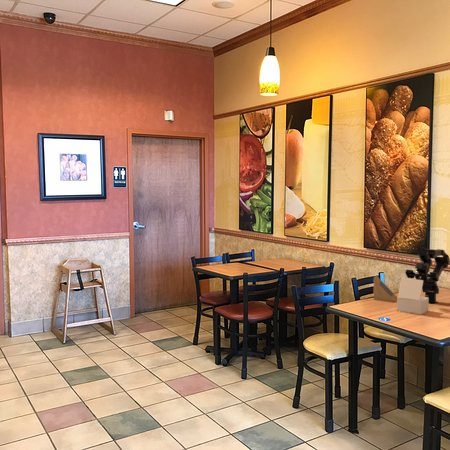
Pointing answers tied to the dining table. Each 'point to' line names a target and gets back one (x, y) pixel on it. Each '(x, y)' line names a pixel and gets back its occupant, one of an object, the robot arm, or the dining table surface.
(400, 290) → the carton flap
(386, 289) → the sandwich container
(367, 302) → the dining table surface
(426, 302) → the carton
